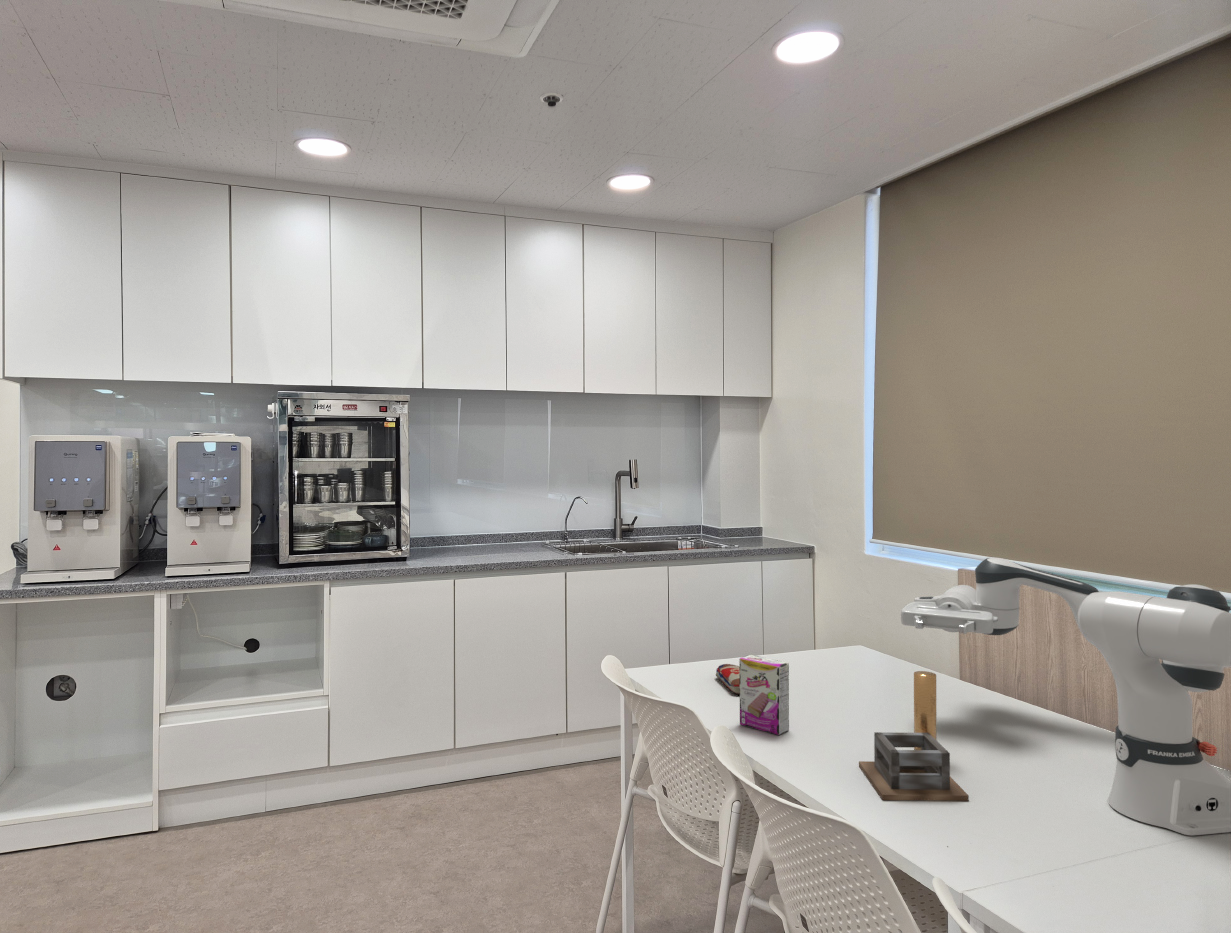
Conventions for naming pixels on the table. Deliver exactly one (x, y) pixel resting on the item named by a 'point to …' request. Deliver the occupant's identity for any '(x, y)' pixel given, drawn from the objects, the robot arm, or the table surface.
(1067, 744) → the table surface
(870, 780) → the collar stand
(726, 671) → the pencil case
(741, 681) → the candy bar box
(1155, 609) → the robot arm
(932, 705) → the copper tube
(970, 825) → the table surface
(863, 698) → the table surface
